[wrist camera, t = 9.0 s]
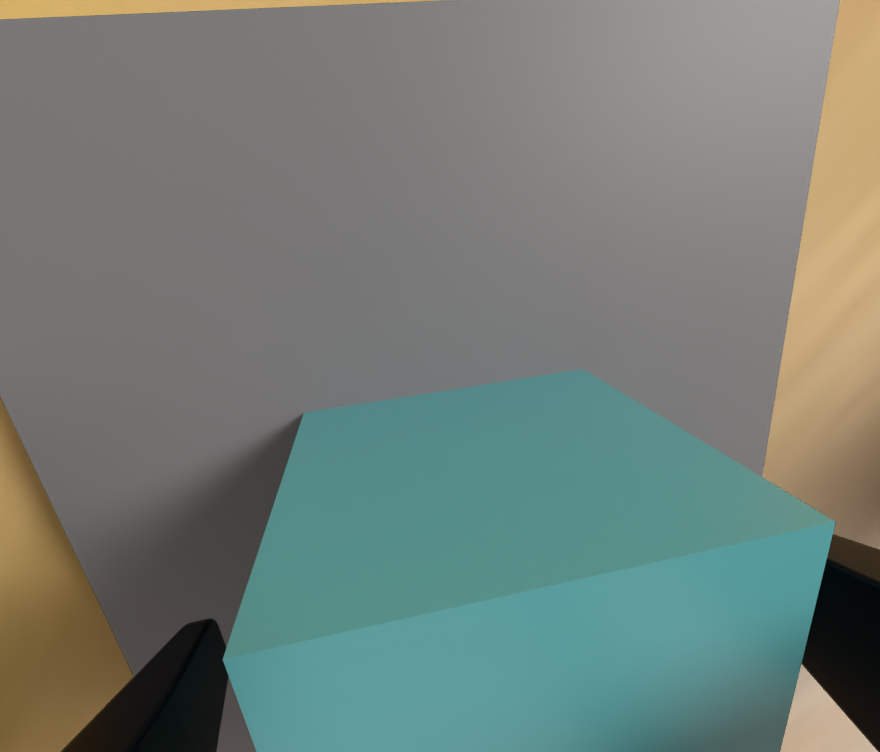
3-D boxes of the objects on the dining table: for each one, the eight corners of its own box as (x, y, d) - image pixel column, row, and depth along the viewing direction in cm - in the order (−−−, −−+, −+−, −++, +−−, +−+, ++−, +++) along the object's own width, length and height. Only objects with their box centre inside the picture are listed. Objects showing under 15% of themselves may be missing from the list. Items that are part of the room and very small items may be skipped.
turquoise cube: (580, 582, 11) (754, 857, 6) (353, 634, 10) (345, 993, 5) (582, 369, 9) (835, 521, 4) (303, 413, 8) (222, 659, 3)
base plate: (689, 660, 15) (724, 705, 13) (232, 780, 13) (215, 848, 11) (765, 24, 9) (842, -18, 7) (-66, 70, 7) (-177, 26, 5)
